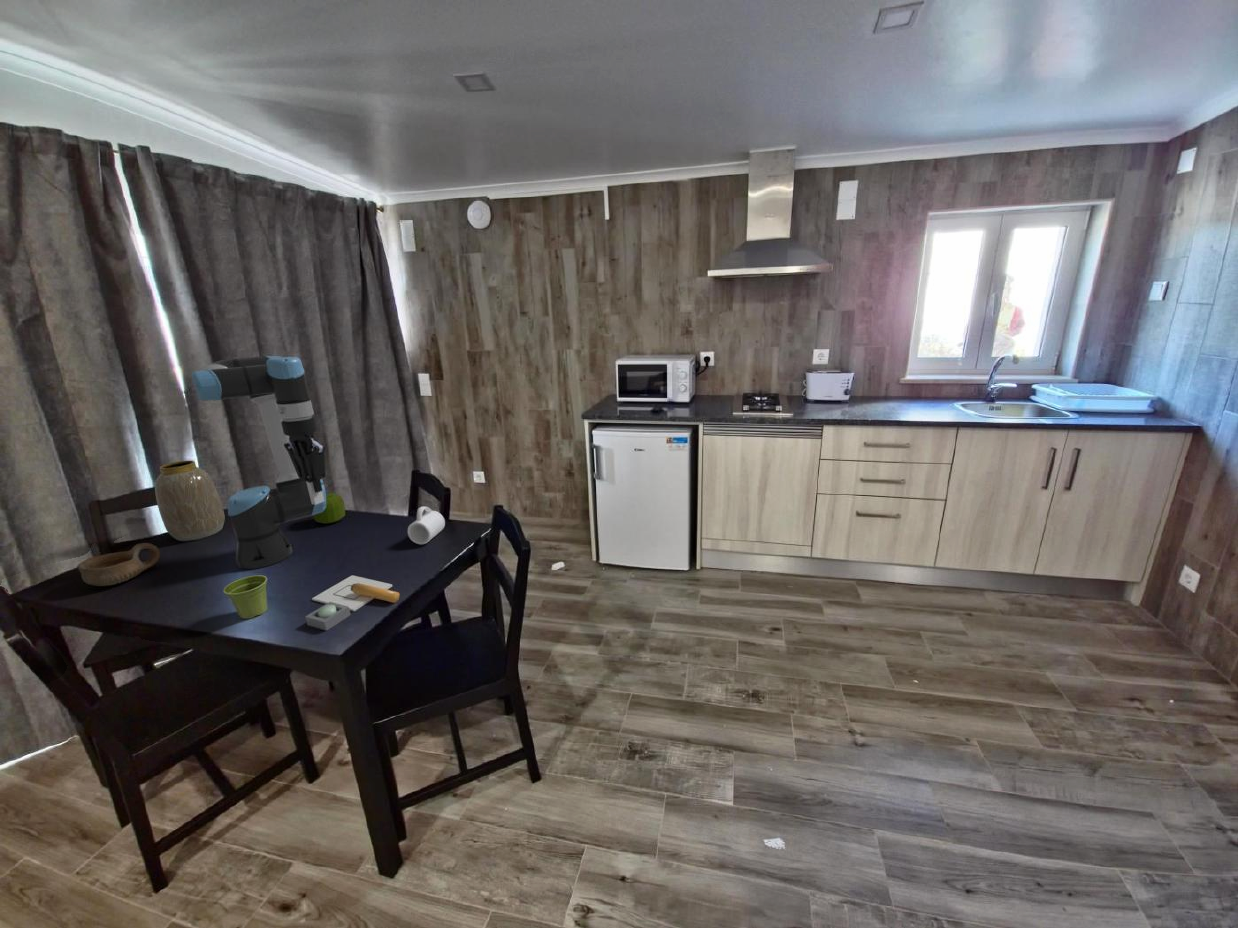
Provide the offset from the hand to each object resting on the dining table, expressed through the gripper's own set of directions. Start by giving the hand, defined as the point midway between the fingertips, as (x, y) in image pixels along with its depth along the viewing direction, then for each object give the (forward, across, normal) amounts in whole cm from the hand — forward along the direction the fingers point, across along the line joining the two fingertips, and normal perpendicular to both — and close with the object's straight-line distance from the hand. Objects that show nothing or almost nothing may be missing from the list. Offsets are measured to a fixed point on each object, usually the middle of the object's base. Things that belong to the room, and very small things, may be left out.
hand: (318, 502), depth 136 cm
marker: (+24, +9, -2) cm, 25 cm away
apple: (+27, -46, +34) cm, 63 cm away
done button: (+26, +12, -12) cm, 31 cm away
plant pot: (+27, -11, -17) cm, 33 cm away
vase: (+27, -85, +10) cm, 90 cm away
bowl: (+27, -71, -18) cm, 78 cm away
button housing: (+26, +12, -12) cm, 32 cm away
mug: (+27, +2, +34) cm, 43 cm away
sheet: (+26, +7, -1) cm, 27 cm away
